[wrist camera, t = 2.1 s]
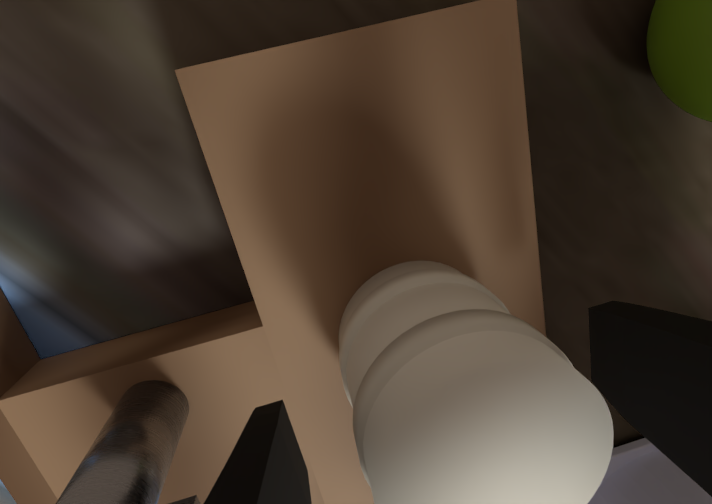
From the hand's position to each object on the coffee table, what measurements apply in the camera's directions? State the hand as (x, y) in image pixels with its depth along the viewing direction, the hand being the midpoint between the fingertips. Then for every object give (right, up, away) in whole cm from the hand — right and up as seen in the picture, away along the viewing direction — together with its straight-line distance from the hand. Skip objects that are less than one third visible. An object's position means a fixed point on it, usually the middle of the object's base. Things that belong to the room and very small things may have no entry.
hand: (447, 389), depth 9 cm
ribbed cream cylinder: (0, +1, +3) cm, 3 cm away
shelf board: (-5, +1, +4) cm, 6 cm away
